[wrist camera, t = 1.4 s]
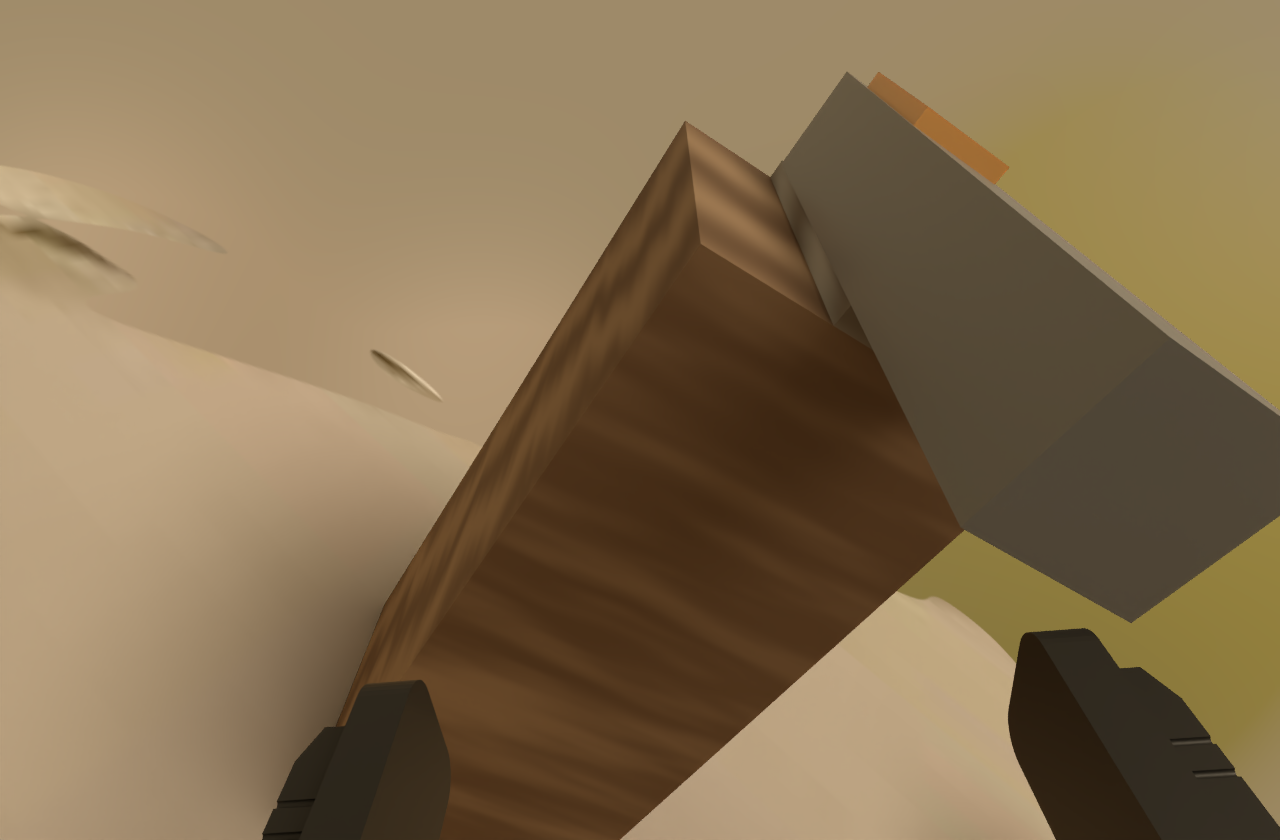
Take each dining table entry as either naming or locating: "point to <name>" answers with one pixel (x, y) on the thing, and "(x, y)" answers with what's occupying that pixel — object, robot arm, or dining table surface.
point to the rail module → (1031, 362)
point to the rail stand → (660, 516)
